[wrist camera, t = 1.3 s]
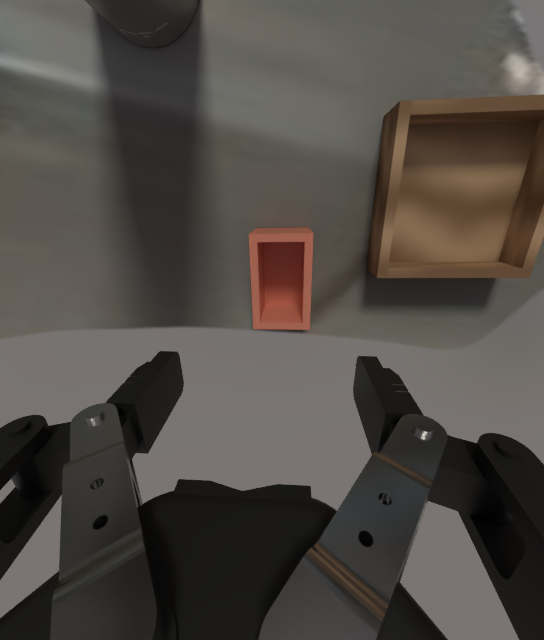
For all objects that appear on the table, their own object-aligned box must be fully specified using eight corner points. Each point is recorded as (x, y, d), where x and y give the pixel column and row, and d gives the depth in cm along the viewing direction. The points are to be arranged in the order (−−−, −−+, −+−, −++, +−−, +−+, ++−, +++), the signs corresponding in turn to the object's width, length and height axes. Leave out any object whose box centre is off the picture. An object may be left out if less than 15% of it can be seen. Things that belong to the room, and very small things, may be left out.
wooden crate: (384, 115, 25) (400, 101, 21) (547, 109, 24) (594, 92, 20) (366, 268, 30) (376, 278, 26) (499, 268, 29) (529, 277, 26)
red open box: (256, 227, 29) (248, 233, 24) (309, 227, 29) (313, 233, 23) (259, 307, 33) (253, 329, 27) (306, 308, 32) (309, 329, 27)
